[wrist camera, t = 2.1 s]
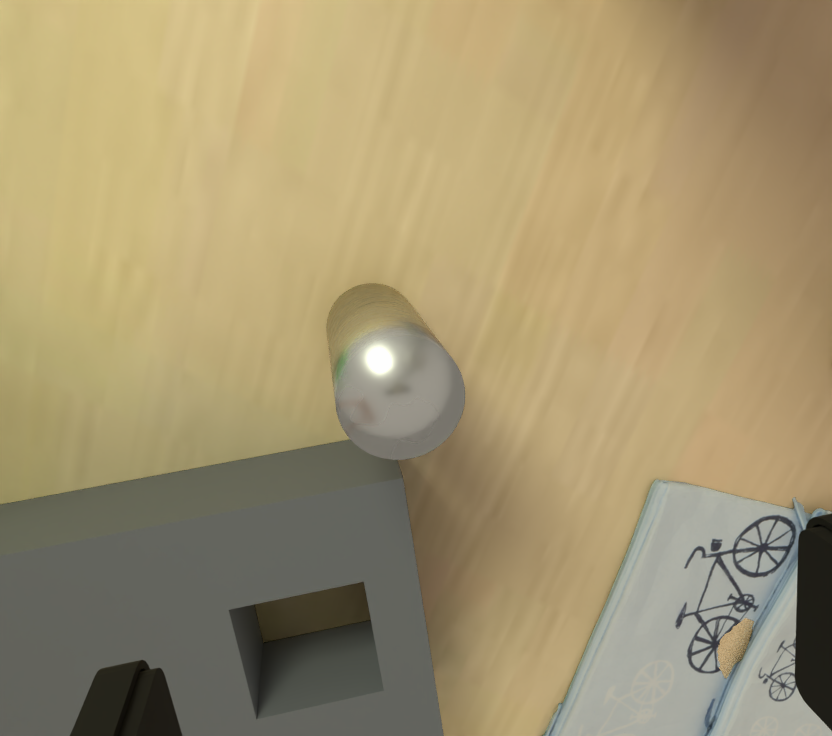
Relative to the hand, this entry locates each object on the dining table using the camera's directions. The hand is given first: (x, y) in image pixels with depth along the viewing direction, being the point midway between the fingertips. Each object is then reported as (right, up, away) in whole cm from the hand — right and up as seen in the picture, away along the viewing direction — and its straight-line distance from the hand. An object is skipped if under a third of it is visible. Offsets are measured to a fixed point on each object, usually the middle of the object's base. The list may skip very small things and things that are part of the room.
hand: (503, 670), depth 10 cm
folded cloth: (+17, -11, +30) cm, 36 cm away
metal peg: (-3, +6, +21) cm, 22 cm away
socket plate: (-12, -7, +23) cm, 27 cm away
